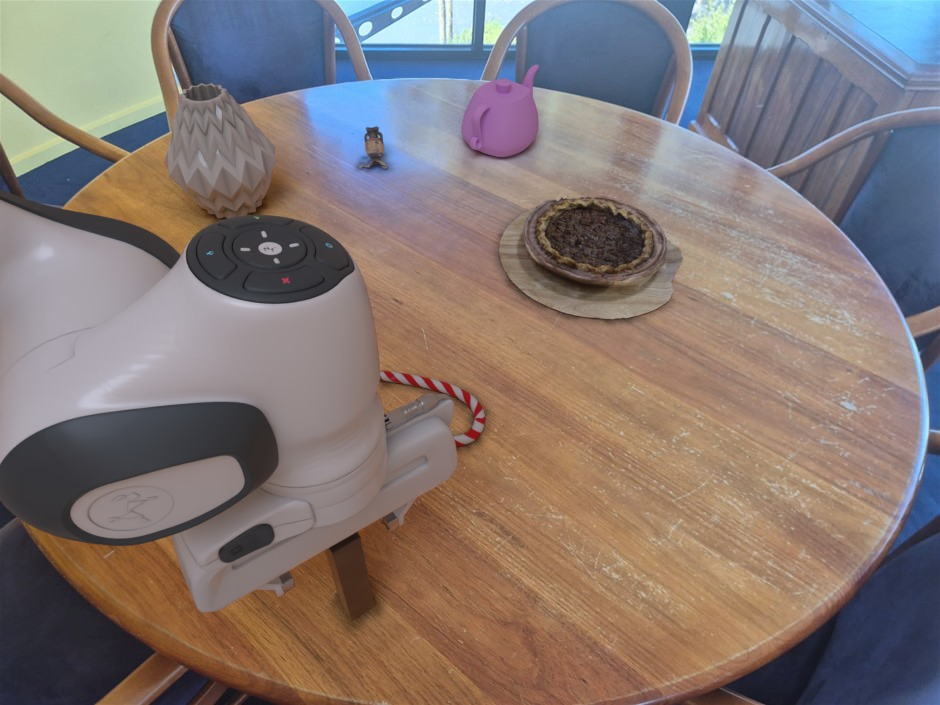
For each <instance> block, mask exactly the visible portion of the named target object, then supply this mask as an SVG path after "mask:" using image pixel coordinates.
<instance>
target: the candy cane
mask: <svg viewBox="0 0 940 705" xmlns="http://www.w3.org/2000/svg"><path fill="white" fill-rule="evenodd" d="M379 381H382V382H387V383H395V384H401V385H407V386H412V387H417V388H423V389H427V390H431V391H434V392H439V393H441V394H447V395H449V396H450V397H453V398H456V399H457V400H459V401H461V402H463V403H464V404H465V405H466V406H468V407H469V409H470V410H471V412H472V414H473V418H474V419H473V424H472V426H471V427H470V429H469V430H468V431H466V432H464V433H462V434H459V435H453V436H454V440H455V444H456V447H461V446H466V445H468V444H471V443H473V442H475V441H476V440H477V439H478V438H479V437H480V436H481V434H482V432H483V430H484V428H485V424H486V414H485V411H484V408H483V405H482V404H481V403H480V401H479V400H478V399H477V398H476V397H475V396H473V395H472V394H471V393H470V392H468V391H466V390H464V389H462V388H461V387H459V386H456V385H454V384H451V383H449V382H445V381H442V380H438V379H434V378H429V377H425V376H422V375H421V376H420V375H416V374H411V373H405V372H399V371H392V370H380V379H379Z"/></svg>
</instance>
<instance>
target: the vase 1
mask: <svg viewBox="0 0 940 705" xmlns="http://www.w3.org/2000/svg"><path fill="white" fill-rule="evenodd" d="M178 98H179V100H178V102H177V108H176V111H175V114H174V115H173V118H172V124H171V125H172V126H171V134H170V139H169V141H168V145H167V149H166V153H165V157H164V161H163V165H164V166H165V167H166V169H167V171H168V177H169V179H170V180H172V181H173V182H174V183H175V184H176V185H178V186H179V188H181V189H182V191H183V192H184V193H185V194H186V195H187V197H188V198H189V199H191V200H192V201H193V202H194V203H196V204H197V205H198V206H199V207H200V208H202V209H203V210H206V212H207V213H208V215H215V216H216V218H217V219H219V220H220V219H223V218H225V219H228V218H233V217H238V216H246V215H249V214H252V213H256V211H257V208H258V207H261V206H262V205H263V200H264V199H265V197H266V194H267V192H268V190H269V188H270V185H271V183H272V177H273V171H274V167H275V165H276V163H277V158H276V156H275V153H276V146H275V144H274V143H273V142H272V141H271V139H269V138H268V136H267V135H266V134H265V132H264V131H263V130H262V129H261V128H260V127H259V126H257V125H256V124H255V122H254V121H253V119H252V117H251V116H250V115H249V113H248V112H247V110H246V109H245V107H244V106H242V105H241V104H240V103H238V102H237V101H236V100H235V98H234V97H233V95H232V94H229V92H228V90H227V88H225V87H224V88H223V86H222V85H221V84H217V85H216V84H213V82H211V83H208V84H205V83H202V82H201V83H199V84H198V85H189V88H183V89H182V93H179V95H178Z"/></svg>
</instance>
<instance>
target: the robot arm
mask: <svg viewBox="0 0 940 705" xmlns="http://www.w3.org/2000/svg"><path fill="white" fill-rule="evenodd" d="M376 330H377V328H376V324H375V318H374V312H373V308H372V303H371V299H370V296H369V292H368V289H367V285H366V282H365V279H364V276H363V274H362V272H361V269H360V267H359V265H358V263H357V262H356V260H355V259H354V258H353V256H352V255H351V254H350V253H349V251H348V250H347V249H346V247H344V246H343V245H342V243H340V241H339V240H337V239H336V238H335V237H334V236H332V235H331V234H329V233H328V232H326V231H325V230H323V229H321V228H319V227H317V226H315V225H313V224H311V223H308V222H306V221H302V220H299V219H296V218H293V217H286V216H281V215H274V214H273V215H271V214H247V215H246V216H238V217H233V218H225V219H221V220H218V221H216V222H213V223H211V224H209V225H207V226H205V227H204V228H202V229H200V230H199V231H198V232H197V233H195V234H194V235H193V236H192V237H191V239H190V240H189V241H188V242H187V244H186V245H185V248H184V250H183V251H182V253H181V254H180V253H179V251H177V250H176V249H175V247H173V246H172V244H170V243H169V242H167V241H166V240H164V238H161V237H160V236H159V235H157V234H155V233H154V232H151V231H150V230H148V229H145V228H144V227H142V226H138V225H136V224H133V223H130V222H127V221H124V220H121V219H117V218H112V217H108V216H103V215H98V214H94V213H93V214H92V213H86V212H81V211H77V210H76V211H75V210H71V209H65V208H60V207H56V206H52V205H47V204H43V203H40V202H36V201H33V200H30V199H26V198H24V197H22V196H18V195H16V194H13V193H11V192H8V191H5V190H3V189H0V502H1V503H2V505H3V506H4V507H5V508H6V509H7V510H8V511H9V512H10V513H11V514H12V515H13V516H15V517H16V518H18V519H19V520H20V521H22V522H23V523H26V525H28V526H31V527H32V528H35V529H36V530H38V531H41V532H42V533H43V532H44V533H45V534H49V535H50V536H54V537H57V538H61V539H64V540H68V541H73V542H79V543H83V544H90V545H98V546H111V547H129V546H137V545H144V544H148V543H151V542H155V541H159V540H161V539H165V538H168V537H170V540H171V544H172V547H173V551H174V555H175V557H176V560H177V563H178V565H179V568H180V570H181V573H182V576H183V579H184V581H185V584H186V586H187V588H188V590H189V594H190V595H191V598H192V600H193V602H194V605H195V607H196V610H198V611H199V612H200V613H204V614H205V613H215V612H219V611H221V610H224V609H225V608H226V607H228V606H230V605H231V604H233V603H235V602H237V601H238V600H240V599H242V598H244V597H246V596H247V595H249V594H251V593H252V592H254V591H274V592H275V595H276V596H277V598H280V597H281V596H283V595H284V594H285V595H286V593H288V592H289V591H291V590H293V589H295V588H296V587H297V585H296V582H295V580H294V578H293V575H292V574H291V570H292V569H294V568H296V567H298V566H300V565H302V564H303V563H305V562H306V561H308V560H310V559H312V558H313V557H316V556H317V555H319V554H321V553H322V552H325V550H326V549H328V548H330V547H331V546H333V545H335V544H337V543H338V542H340V541H342V540H344V539H345V538H347V537H349V536H351V535H352V534H354V533H356V532H358V533H359V531H361V530H363V529H364V528H366V527H368V526H370V525H372V524H373V523H375V522H377V521H380V522H381V524H382V525H384V529H385V530H386V531H387V533H390V532H393V531H394V530H396V529H397V528H399V527H401V526H402V525H404V524H405V515H406V514H407V512H408V511H409V510H410V508H411V506H413V504H414V503H415V501H416V500H417V499H418V498H419V497H420V496H422V495H424V494H426V493H428V492H429V491H431V490H433V489H435V488H436V487H438V486H441V485H442V484H444V483H445V482H447V481H448V480H449V479H450V478H451V477H452V476H453V474H454V473H455V471H456V470H457V469H458V463H459V462H458V451H457V446H456V444H455V440H454V436H455V435H454V434H453V431H452V430H451V428H450V425H451V424H452V422H453V421H454V417H455V403H454V400H453V398H452V396H451V395H448V394H445V393H438V394H435V393H434V392H429V393H424V394H422V395H420V396H419V397H417V398H416V399H415V400H412V401H409V402H407V403H404V404H402V405H401V406H400V405H399V406H398V407H396V408H394V409H392V410H390V411H388V412H385V410H384V406H383V405H384V404H383V402H382V398H381V396H380V394H379V392H378V388H379V384H380V372H381V364H380V362H381V361H380V353H379V345H378V344H379V343H378V336H377V331H376Z"/></svg>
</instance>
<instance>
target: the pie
mask: <svg viewBox="0 0 940 705" xmlns="http://www.w3.org/2000/svg"><path fill="white" fill-rule="evenodd" d="M498 254H499V259H500V263H501V266H502V269H503V270H504V272H505V273H506V275H507V276H508V278H509V280H510V281H511V282H512V283H513V284H514V285H515V286H516V287H517V288H518V289H519V290H520V291H521V292H522V293H524V294H525V295H526V296H528V297H529V298H531V299H532V300H534V301H536V302H537V303H539V304H542V305H544V306H546V307H548V308H551V309H553V310H556V311H559V312H561V313H563V314H568V315H571V316H576V317H582V318H592V319H593V318H594V319H603V320H617V319H629V318H632V317H637V316H641V315H645V314H647V313H651V312H653V311H655V310H657V309H659V308H660V307H663V306H664V305H665V304H667V303H668V302H669V301H670V300H671V297H672V296H673V293H674V291H675V290H674V288H673V282H672V281H674V280H675V278H674V276H675V275H676V273H677V272H678V267H680V265H681V263H682V262H683V261H682V260H683V254H682V250H681V248H680V247H679V246H678V245H676V244H675V243H672V242H671V240H670V239H668V238H667V236H666V234H665V232H664V230H663V228H662V227H661V225H660V224H659V222H657V220H656V219H655V218H653V217H652V216H651V215H649V214H648V213H647V212H645V211H644V210H642V209H641V208H638V207H636V206H634V205H631V204H628V203H626V202H624V201H622V200H618V199H615V198H613V197H608V196H603V195H601V196H595V197H594V198H593V197H591V196H586V197H584V196H580V197H579V198H577V197H576V198H574V197H573V198H569V195H567V196H566V197H565V198H564V197H562V196H561V197H560V199H559V200H557V199H548V200H544V201H543V202H542V203H541V204H538V205H537V206H535V207H533V208H531V209H529V210H526V211H525V212H523V213H521V214H520V215H519V216H518V217H516V218H515V219H514V220H513V221H511V223H510V224H508V226H507V227H506V228H505V230H504V232H503V234H501V238H500V241H499V247H498Z"/></svg>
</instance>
